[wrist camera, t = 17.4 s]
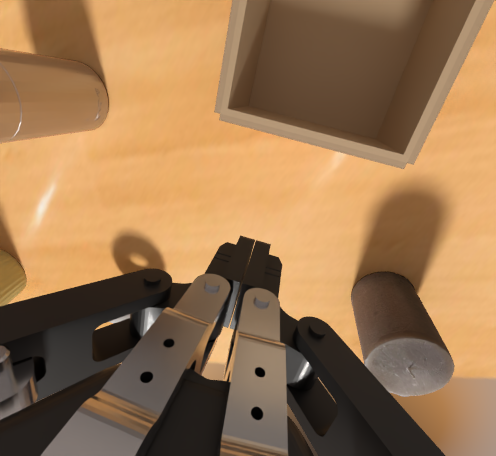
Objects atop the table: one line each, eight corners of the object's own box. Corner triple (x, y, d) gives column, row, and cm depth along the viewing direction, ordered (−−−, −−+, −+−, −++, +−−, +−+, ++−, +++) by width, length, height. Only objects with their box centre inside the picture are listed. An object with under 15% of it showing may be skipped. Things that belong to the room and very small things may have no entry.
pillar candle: (415, 268, 43) (463, 344, 30) (415, 319, 46) (459, 409, 33) (347, 274, 46) (363, 346, 32) (352, 322, 49) (369, 406, 36)
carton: (239, 113, 38) (213, 118, 28) (275, -71, 30) (259, -164, 20) (379, 150, 37) (410, 170, 26) (457, -31, 29) (546, -108, 18)
